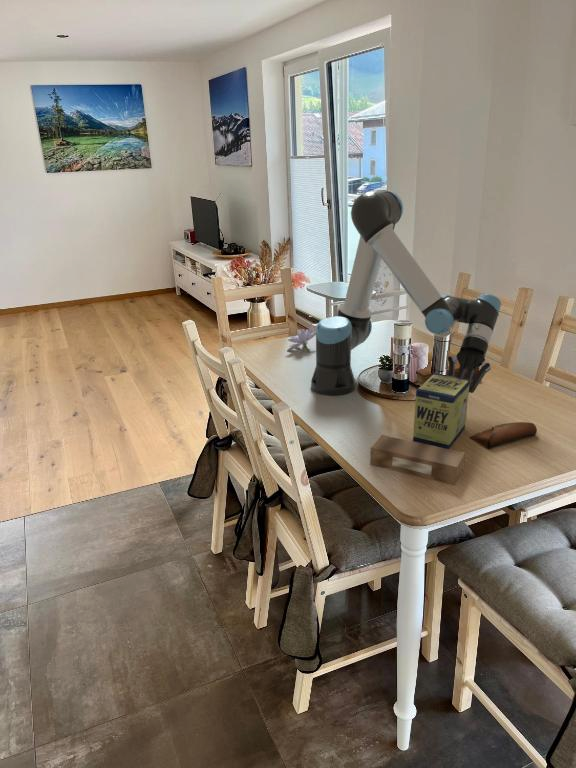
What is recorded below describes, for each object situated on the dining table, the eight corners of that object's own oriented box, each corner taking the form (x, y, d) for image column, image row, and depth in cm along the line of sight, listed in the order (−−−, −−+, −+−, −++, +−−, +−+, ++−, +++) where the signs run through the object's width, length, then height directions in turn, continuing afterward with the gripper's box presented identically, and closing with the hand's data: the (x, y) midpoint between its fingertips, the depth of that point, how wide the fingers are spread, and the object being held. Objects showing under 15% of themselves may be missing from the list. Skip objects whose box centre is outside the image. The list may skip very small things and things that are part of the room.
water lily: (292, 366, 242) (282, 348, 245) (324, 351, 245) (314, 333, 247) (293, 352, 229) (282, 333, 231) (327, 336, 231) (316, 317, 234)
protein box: (412, 441, 164) (415, 390, 158) (430, 420, 176) (434, 372, 171) (449, 450, 159) (453, 397, 153) (465, 428, 171) (470, 378, 165)
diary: (424, 391, 199) (425, 375, 197) (393, 374, 215) (393, 359, 213) (478, 379, 207) (479, 364, 205) (444, 363, 223) (445, 349, 221)
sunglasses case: (513, 423, 173) (525, 409, 168) (528, 442, 170) (540, 429, 165) (467, 437, 166) (478, 424, 161) (481, 458, 162) (493, 444, 157)
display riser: (369, 464, 153) (370, 447, 151) (381, 451, 159) (381, 434, 157) (455, 485, 143) (456, 467, 141) (463, 470, 149) (465, 452, 147)
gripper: (453, 332, 180) (429, 401, 173) (496, 338, 173) (473, 410, 166) (457, 344, 186) (434, 411, 179) (499, 350, 179) (477, 420, 172)
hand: (453, 410), depth 173 cm, fingers closed
